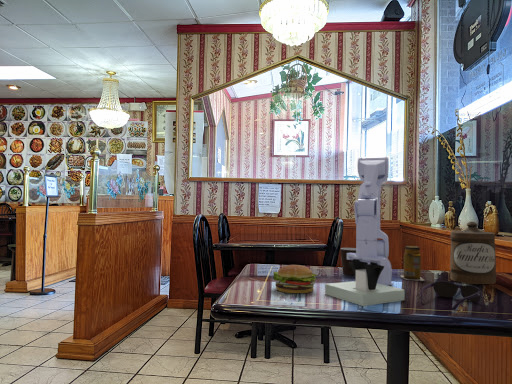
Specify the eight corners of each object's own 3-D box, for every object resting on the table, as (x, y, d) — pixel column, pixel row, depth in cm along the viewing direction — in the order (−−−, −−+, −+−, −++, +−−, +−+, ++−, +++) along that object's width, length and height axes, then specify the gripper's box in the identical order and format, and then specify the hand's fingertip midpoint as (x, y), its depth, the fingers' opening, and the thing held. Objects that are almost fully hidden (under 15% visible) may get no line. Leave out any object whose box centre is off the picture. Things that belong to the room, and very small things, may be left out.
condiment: (419, 277, 153) (419, 246, 154) (425, 281, 145) (425, 248, 146) (400, 276, 155) (400, 245, 155) (404, 280, 146) (404, 247, 147)
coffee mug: (348, 271, 163) (348, 247, 163) (366, 274, 157) (366, 249, 157) (331, 274, 155) (331, 249, 156) (349, 277, 149) (350, 251, 149)
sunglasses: (484, 304, 112) (484, 286, 112) (464, 313, 101) (464, 294, 101) (436, 295, 122) (436, 279, 122) (412, 303, 111) (412, 285, 111)
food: (319, 287, 130) (319, 263, 131) (313, 296, 117) (313, 269, 117) (278, 284, 134) (278, 260, 134) (268, 292, 121) (268, 266, 121)
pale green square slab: (364, 289, 128) (364, 280, 128) (404, 300, 114) (404, 289, 114) (325, 294, 120) (325, 284, 120) (362, 306, 106) (362, 294, 106)
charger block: (365, 291, 116) (365, 268, 116) (376, 294, 112) (376, 271, 113) (355, 292, 114) (355, 269, 114) (365, 295, 111) (365, 271, 111)
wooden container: (454, 283, 142) (454, 221, 142) (446, 276, 156) (446, 220, 157) (501, 286, 138) (501, 222, 138) (489, 279, 152) (488, 221, 153)
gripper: (338, 238, 118) (338, 284, 118) (374, 242, 106) (374, 294, 105) (356, 238, 122) (356, 282, 121) (393, 242, 109) (393, 291, 108)
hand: (366, 287), depth 113 cm, fingers closed on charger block, 4 cm apart
